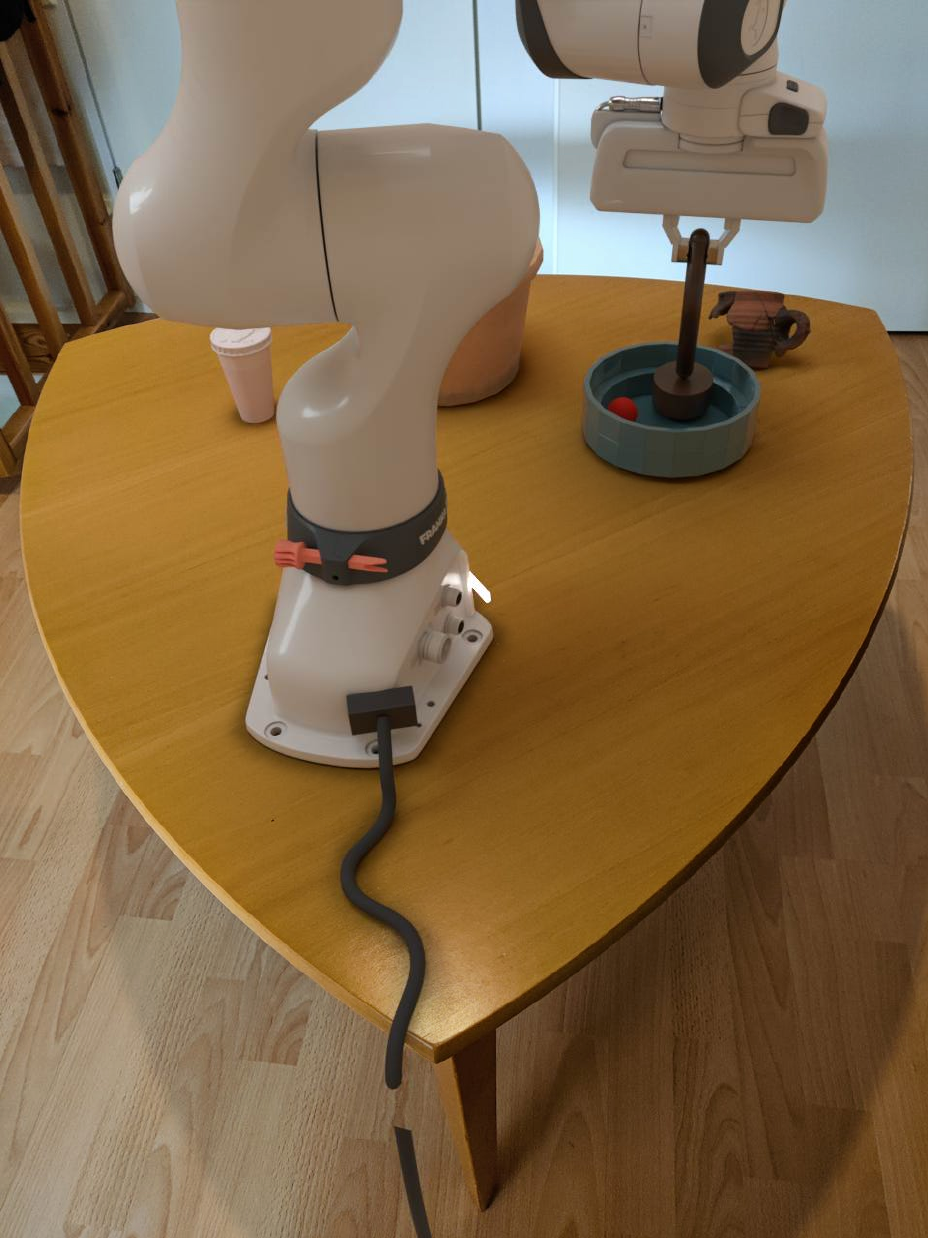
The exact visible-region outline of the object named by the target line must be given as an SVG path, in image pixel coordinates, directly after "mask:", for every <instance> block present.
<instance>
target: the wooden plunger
mask: <svg viewBox="0 0 928 1238" xmlns="http://www.w3.org/2000/svg"><path fill="white" fill-rule="evenodd" d="M689 235H690V236H689V238H690V240H689V251H688V261H687V263H686V267H685V268H686V270H685V278H684V285H683V286H684V287H683V294H682V295H683V296H682V306H681V313H680V316H681V317H680V323H679V324H680V325H679V335H678V341H677V342H678V351H677V360H676V361H674V362H669V363H666V364H664V365H662V366H661V367H659V368H658V369H657V370H656V372H655V374H654V380H653V391H652V405H653V407H654V408H655V410H656V411H657V412H659V413H660V414H662V415H664V416H666V417H669V418H673V419H691V418H695V417H698V416H700V415H702V414H704V413H705V412H706V411H707V410H708V408H709V406H710V401H711V394H712V387H713V380H714V378H713V375H712V373H711V371H710V370H709V369H708V368H706V367H705V366H703V365H701V364H699V363H695V355H696V346H697V344H698V339H699V329H700V321H701V314H702V305H703V297H704V289H705V282H706V274H707V266H708V265H707V264H706V259H707V251H708V245H709V242H710V239H711V234H710V233H709V231H708V230H707V229H706V228H702V227H698V228H696V229H693V231H692V232H691V233H690V234H689Z"/></svg>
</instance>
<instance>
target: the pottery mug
mask: <svg viewBox="0 0 928 1238" xmlns="http://www.w3.org/2000/svg"><path fill="white" fill-rule="evenodd" d="M717 296H718V298H717V299H718V300H717V301H718V302H717V303H716V304H715V305H714V306H713V308H712V309H711V311H710V313H709V315H708V320H711V319H718V318H719V317H723V316H725V318H726V322H727V324H728V325H729V326H731V332H732V340H733V342H731V343H726V344H724V343H723V344H721V343H720V344H718V345H717V348H716V349H718V350H720V351H723V352H725V353H727V354H729V355H732V356H734V357H736V358H738V359H740V360H741V361H742V362H743V363H745V364H746V365H747V366H748V367H750V368H759V369H761V368H762V369H767V368H768V367H769V365H770V361H771V358H772V357H773V354H775V356H776V357H778V358H782V357H783V356H784V355H785V353H786V352H788V351H793V350H795V349H798V348H799V347H800V346H801V345H803V344H804V342H806V340H807V338H808V336H809V335H810V334H811V332H812V330H811V320H810V317H809V316H808V314H806V313H805V312H804V311H801V310H798V309H788V308H787V307H786V305H785V304H784V302H785V294H784V293H783V292H779V291H772V290H771V291H770V290H727V291H721V292H719V293H718V294H717ZM795 324H796V328H795V329H796V330H795V331H794V333H793V335H791V336H790V333H791V329H792V327H793V325H795Z"/></svg>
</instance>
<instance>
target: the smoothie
mask: <svg viewBox="0 0 928 1238" xmlns="http://www.w3.org/2000/svg"><path fill="white" fill-rule="evenodd" d="M273 339H274V336H273V334H272V330H271V327H267V328H254V329H241V330H234V329H225V328H216V327H214V329H213V330H212V331H211V332H210V335H209V341H210V348H211V350H213V352H214V353H216V355H217V358H218V360H219V363H220V366H221V369H222V371H223V374H224V377H225V379H226V381H227V385H228V388H229V390H230V392H231V395H232V397H233V400H234V403H235V406H236V408H237V411H238V413H239V416H240V419H241V420H242V421H243V422H245V423H248V424H259V423H264V422H266V421H268V420H270V419H271V418H273V417H274V415H275V400H274V386H273V385H274V383H273V382H274V381H273V369H272V368H273V367H272V351H271V350H272V349H271V343H272V342H273Z"/></svg>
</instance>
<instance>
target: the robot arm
mask: <svg viewBox="0 0 928 1238" xmlns="http://www.w3.org/2000/svg"><path fill="white" fill-rule="evenodd" d="M174 1H175V2H174V3H175V7H176V13H177V20H178V24H179V25H178V26H179V32H180V33H179V34H180V41H181V42H180V43H181V70H180V77H179V85H178V90H177V94H176V98H175V102H174V105H173V107H172V110H171V113H170V115H169V117H168V119H167V120H166V122H165V125H164V127H163V128H162V129H161V130H160V132H159V134H158V136H157V137H156V138H155V139H154V141H152V143H151V144H150V145H149V147H147V149H146V150H145V151H143V152H142V153H141V154H140V155H139V156H138V157H137V158H136V159H134V161H133V162H132V164H131V165H130V167H128V169H127V171H126V172H125V174H124V176H123V178H122V179H121V182H120V184H119V187H118V190H117V193H116V196H115V200H114V203H113V209H112V221H111V222H112V224H111V225H112V227H111V228H112V238H113V244H114V249H115V255H116V257H117V261H118V263H119V265H120V269H121V270H122V273H123V274H124V276H125V279H126V280H127V283H128V284H129V285H130V287H131V288H132V290H133V292H134V293H135V294H136V296H137V297H138V298H139V299H140V300H141V302H142V303H143V304H144V305H145V306H146V307H147V308H148V309H149V310H150V311H151V312H152V313H153V314H155V315H156V316H157V317H159V318H160V319H161V320H163V321H165V322H171V323H179V324H185V325H193V326H200V327H207V328H225V329H234V330H241V329H254V328H267V327H270V328H279V327H290V326H303V325H305V326H306V325H316V324H317V325H318V324H330V323H331V324H332V323H339V324H347V325H351V326H352V327H351V328H350V329H349V330H348V331H347V333H346V334H345V335H344V336H343V337H342V338H341V339H339V340H338V341H337V342H336V343H334V344H332V345H330V346H329V347H327V348H326V349H324V350H323V351H320V352H319V353H317V354H316V355H314V356H312V357H311V358H310V359H308V360H307V361H305V362H304V363H303V364H302V365H300V367H299V368H298V369H297V370H296V371H295V372H294V373H293V374H292V376H291V377H290V378H289V379H288V381H287V382H286V383H285V386H283V389H282V391H281V392H280V395H279V398H278V402H277V406H276V413H275V423H276V427H277V433H278V437H279V442H280V447H281V452H282V457H283V460H284V462H283V463H284V467H285V472H286V477H287V482H288V490H287V493H286V508H285V527H286V531H287V533H286V534H287V535H286V539H285V538H280V539H278V540H277V541H276V543H275V546H274V548H273V550H274V551H273V563H274V565H275V566H276V567H278V568H282V574H281V579H280V583H279V588H278V593H277V596H276V597H277V598H276V603H275V608H274V613H273V618H272V622H271V626H270V629H269V633H268V636H267V640H266V643H265V646H264V650H263V653H262V657H261V660H260V664H259V667H258V671H257V675H256V679H255V681H254V685H253V689H252V693H251V696H250V700H249V703H248V707H247V711H246V715H245V719H244V720H245V721H244V722H245V729H246V731H247V732H248V734H250V736H252V738H254V739H255V740H256V741H257V742H259V743H260V744H262V745H263V746H265V747H267V748H268V749H271V750H273V751H274V752H276V753H277V752H278V753H280V754H283V755H285V756H289V757H292V758H294V759H297V760H298V759H299V760H302V761H307V762H311V763H316V764H322V765H327V766H334V767H341V768H342V767H343V768H353V769H355V768H357V769H373V768H374V769H375V768H378V770H379V772H378V774H379V781H380V789H381V797H382V800H381V807H380V811H379V814H378V817H377V818H376V820H375V822H374V823H373V825H372V826H371V827H370V828H369V830H368V831H367V832H366V833H365V834H364V835H363V836H362V837H361V838H360V839H359V840H358V841H356V842H355V844H353V845H352V847H351V848H350V849H349V850H348V851H347V853H346V854H345V856H344V857H343V859H342V862H341V865H340V870H339V871H340V872H339V876H340V877H339V878H340V879H339V880H340V885H341V889H342V892H343V893H344V895H345V897H346V898H347V900H348V901H349V902H350V903H351V904H352V905H353V906H355V907H356V908H357V909H359V910H360V911H362V912H364V914H366V915H369V916H371V917H372V918H375V919H376V920H378V921H380V922H381V923H384V924H385V925H387V926H388V927H390V928H392V929H393V930H395V932H397V933H398V934H399V935H400V936H401V938H402V939H403V940H404V943H405V945H406V947H407V951H408V955H409V972H408V975H407V980H406V983H405V987H404V989H403V991H402V995H401V997H400V1000H399V1003H398V1005H397V1008H396V1010H395V1014H394V1016H393V1020H392V1022H391V1026H390V1029H389V1034H388V1037H387V1043H386V1050H385V1060H384V1061H385V1063H384V1082H385V1085H386V1087H387V1088H388V1089H389V1090H391V1091H393V1090H398V1089H399V1088H400V1086H401V1085H402V1082H403V1059H404V1049H405V1043H406V1038H407V1034H408V1031H409V1026H410V1024H411V1021H412V1018H413V1015H414V1013H415V1010H416V1008H417V1004H418V1001H419V999H420V996H421V993H422V990H423V986H424V981H425V976H426V952H425V947H424V944H423V940H422V938H421V935H420V933H419V931H418V930H417V928H416V927H415V926H414V925H413V923H412V922H411V921H410V920H409V919H407V918H406V917H405V916H404V915H402V914H401V913H399V912H398V911H396V910H395V909H393V908H391V907H389V906H387V905H385V904H383V903H381V902H379V901H377V900H375V899H373V898H372V897H370V896H369V895H367V894H366V893H365V892H363V890H362V889H361V888H360V887H359V885H358V884H357V881H356V877H355V876H356V875H355V874H356V873H355V872H356V868H357V866H358V864H359V863H360V862H361V860H362V858H363V857H364V856H365V855H366V854H367V853H368V852H369V851H370V850H371V849H373V847H374V846H375V845H377V843H378V842H379V841H380V840H381V839H382V837H383V836H385V834H386V832H387V831H388V829H389V828H390V826H391V824H392V822H393V819H394V816H395V813H396V808H397V789H396V783H395V776H394V775H395V774H394V766H396V765H401V764H404V763H408V762H411V761H413V760H415V759H416V758H417V757H418V756H419V755H420V754H421V752H422V751H423V749H424V748H425V746H426V745H427V743H428V742H429V740H430V738H432V736H433V734H434V732H435V731H436V729H437V727H438V726H439V725H440V723H441V721H442V720H443V718H444V717H445V715H446V713H447V712H448V710H449V709H450V707H451V706H452V704H453V703H454V701H455V699H456V698H457V696H458V694H459V693H460V692H461V690H462V688H463V687H464V685H465V684H466V682H467V681H468V679H469V678H470V676H471V675H472V672H473V671H474V669H475V668H476V666H477V665H478V664H479V662H480V661H481V659H482V657H483V655H484V654H485V653H486V651H487V649H488V648H489V646H490V645H491V643H492V641H493V639H494V630H493V625H492V624H491V622H490V621H489V620H488V619H487V618H486V617H484V615H482V614H481V613H479V612H478V611H477V610H476V609H475V599H474V594H473V589H474V590H475V592H476V593H477V594H478V595H479V596H480V597H481V598H482V599H483V600H484V601H485V602H486V603H490V602H491V593H490V591H489V590H487V588H486V587H485V586H484V585H483V584H482V583H481V582H480V581H479V580H478V579H477V578H476V576H475V575H473V573H472V572H471V571H470V564H469V557H468V554H467V552H466V551H465V549H464V547H462V545H461V544H460V543H459V542H458V541H457V539H456V538H455V536H454V535H453V534H452V532H451V531H450V529H449V528H448V508H449V507H448V505H449V503H448V493H447V488H446V487H445V479H444V476H443V474H442V472H441V470H440V468H439V467H438V451H437V450H438V449H437V447H438V446H437V445H438V444H437V422H438V421H437V419H438V418H437V417H438V406H437V401H438V394H439V389H440V385H441V381H442V378H443V375H444V373H445V370H446V368H447V366H448V364H449V362H450V360H451V357H452V356H453V354H454V352H455V351H456V349H457V347H458V346H459V344H460V343H461V341H462V340H463V339H464V337H465V336H466V334H467V333H468V332H469V331H470V330H471V328H472V327H473V326H474V325H475V324H476V323H477V322H478V321H479V320H480V319H481V318H482V317H483V316H484V315H485V314H486V313H487V312H488V311H489V310H491V309H492V308H493V307H494V306H496V305H497V304H498V303H499V302H501V301H502V300H504V299H505V298H506V297H508V296H509V295H510V294H511V293H512V292H513V291H514V290H515V288H516V287H517V286H518V285H519V283H520V282H521V280H522V279H523V277H524V276H525V274H526V272H527V270H528V268H529V266H530V264H531V262H532V259H533V257H534V254H535V250H536V247H537V242H538V237H539V238H540V229H541V208H540V201H539V196H538V191H537V188H536V184H535V181H534V179H533V177H532V174H531V171H530V169H529V167H528V166H527V164H526V162H525V159H523V157H522V156H521V154H520V153H519V151H518V150H517V149H516V148H515V147H514V146H513V145H512V144H511V142H510V141H509V140H508V139H507V138H506V137H504V136H503V135H502V134H501V133H497V132H491V131H486V130H480V129H474V128H469V127H461V126H455V125H454V126H453V125H445V124H439V123H438V124H437V123H431V122H421V123H407V124H394V125H380V126H379V125H377V126H366V127H365V126H364V127H353V128H352V127H351V128H350V127H349V128H338V129H323V130H319V129H317V128H316V129H315V128H311V127H312V126H313V124H315V122H316V121H318V120H319V119H321V117H323V116H324V115H325V114H327V113H328V112H330V111H332V110H333V109H335V108H336V107H338V106H340V105H341V104H342V103H344V102H346V101H347V100H349V99H350V98H352V97H353V96H355V95H356V94H357V93H359V92H360V91H361V90H362V89H363V88H365V86H367V85H368V84H369V83H370V81H371V80H372V79H373V78H374V77H375V75H377V73H378V72H379V70H380V69H381V67H382V66H383V65H384V63H385V62H386V60H387V59H388V57H389V56H390V54H391V52H392V50H393V48H394V46H395V44H396V42H397V39H398V37H399V34H400V30H401V27H402V22H403V16H404V0H174ZM787 2H788V0H514V7H515V8H514V9H515V21H516V28H517V33H518V36H519V39H520V41H521V44H522V46H523V48H524V50H525V52H526V54H527V55H528V57H529V58H530V60H531V62H532V63H533V65H535V66H536V68H537V69H538V70H539V72H541V73H542V75H544V76H545V77H548V78H550V79H554V80H593V79H595V80H604V81H611V82H620V83H625V84H634V85H635V84H636V85H643V86H650V87H651V86H652V87H655V86H659V87H663V94H662V96H637V97H626V96H625V95H614V96H610V97H609V100H606V101H603V102H601V103H599V104H598V105H597V106H596V108H595V109H594V111H593V112H592V115H591V118H590V134H589V135H590V141H591V144H592V145H593V147H594V148H595V150H596V152H595V157H594V161H593V166H592V171H591V178H590V188H589V189H590V190H589V201H590V203H591V204H592V205H593V207H594V209H595V210H597V211H598V212H607V213H624V214H625V213H627V214H641V215H662V225H661V226H662V229H663V231H664V233H665V235H666V237H667V238H668V241H669V243H670V245H671V246H672V249H671V260H670V262H671V263H676V264H677V263H682V264H687V261H688V251H689V240H690V237H683V236H682V234H681V231H680V229H679V223H680V219H681V217H693V218H694V217H695V218H696V217H697V218H712V219H724V224H723V230H724V231H723V232H722V234H721V235H720V237H719V238H718V239H716V238H715V239H713V238H710V242H709V245H708V251H707V259H706V264H707V266H708V265H710V266H721V267H722V266H723V262H724V256H725V249H726V248H727V247H728V246H729V245H730V244H731V242H732V241H733V240H734V239H735V238H736V236H737V235H738V233H739V232H740V228H741V222H742V220H749V221H765V222H782V223H799V224H812V223H813V222H815V221H816V220H817V219H818V218H819V217H820V216H821V215H822V214H823V213H824V209H825V203H826V196H827V187H828V174H829V173H828V172H829V144H828V143H829V142H828V136H827V132H826V130H825V128H824V123H825V120H826V116H827V111H828V104H827V103H828V102H827V98H826V95H825V92H824V90H823V89H822V88H821V87H819V86H818V85H815V84H813V83H811V82H808V81H805V80H802V79H800V78H797V77H794V76H792V75H789V74H787V73H784V72H782V71H780V70H778V65H779V64H778V63H779V56H780V55H779V45H778V44H779V43H778V33H779V32H780V31H779V30H780V26H781V22H782V16H783V12H784V9H785V7H786V4H787ZM607 107H608V108H607ZM376 752H377V753H376ZM393 1130H394V1136H395V1141H396V1148H397V1154H398V1160H399V1165H400V1169H401V1175H402V1179H403V1184H404V1185H403V1186H404V1189H405V1193H406V1199H407V1202H408V1203H407V1204H408V1207H409V1212H410V1215H411V1220H412V1223H413V1226H414V1229H415V1233H416V1237H417V1238H433V1237H432V1232H431V1227H430V1224H429V1219H428V1215H427V1210H426V1206H425V1201H424V1196H423V1191H422V1186H421V1181H420V1176H419V1169H418V1163H417V1157H416V1150H415V1145H414V1139H413V1133H412V1130H411V1129H408V1128H403V1127H399V1126H396V1125H393Z"/></svg>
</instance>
